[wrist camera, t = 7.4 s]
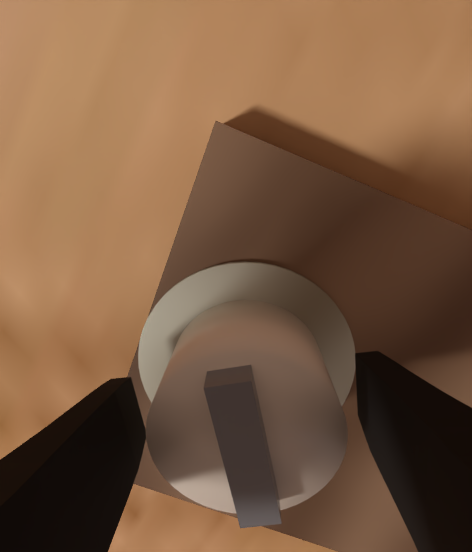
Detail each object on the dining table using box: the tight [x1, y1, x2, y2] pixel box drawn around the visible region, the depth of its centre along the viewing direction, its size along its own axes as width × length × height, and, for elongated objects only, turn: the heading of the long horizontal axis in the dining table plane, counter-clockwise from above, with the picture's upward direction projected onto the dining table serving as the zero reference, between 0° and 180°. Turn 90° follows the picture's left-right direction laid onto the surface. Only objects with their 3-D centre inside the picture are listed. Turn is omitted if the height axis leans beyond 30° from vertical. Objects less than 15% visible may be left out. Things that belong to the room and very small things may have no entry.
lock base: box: [127, 121, 472, 552], centre depth 11 cm, size 17×13×3 cm
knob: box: [146, 300, 348, 528], centre depth 9 cm, size 5×5×4 cm
